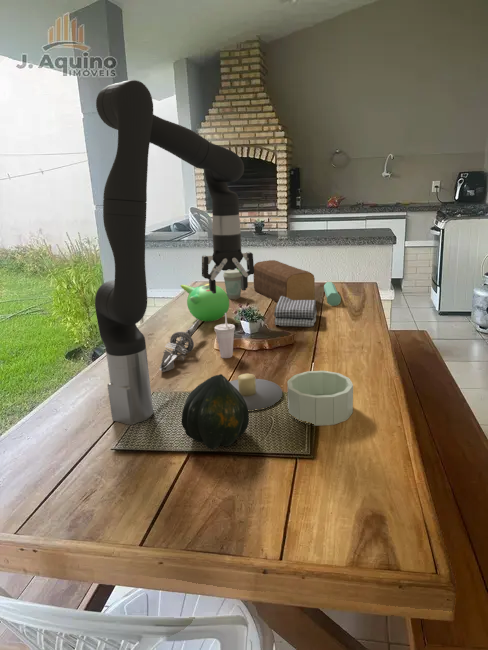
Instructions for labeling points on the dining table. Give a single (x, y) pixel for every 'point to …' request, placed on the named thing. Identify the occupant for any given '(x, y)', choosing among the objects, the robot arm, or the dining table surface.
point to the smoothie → (225, 338)
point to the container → (332, 294)
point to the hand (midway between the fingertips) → (228, 291)
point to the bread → (283, 281)
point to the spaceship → (178, 347)
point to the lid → (257, 391)
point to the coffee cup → (232, 283)
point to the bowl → (320, 397)
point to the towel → (295, 312)
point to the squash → (215, 413)
